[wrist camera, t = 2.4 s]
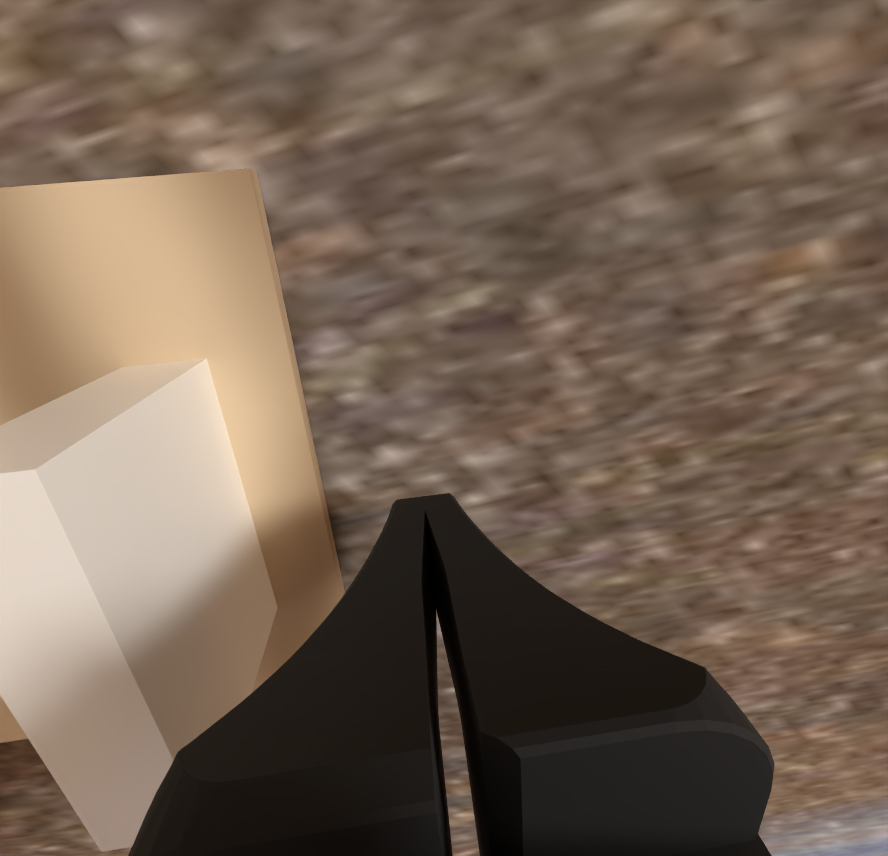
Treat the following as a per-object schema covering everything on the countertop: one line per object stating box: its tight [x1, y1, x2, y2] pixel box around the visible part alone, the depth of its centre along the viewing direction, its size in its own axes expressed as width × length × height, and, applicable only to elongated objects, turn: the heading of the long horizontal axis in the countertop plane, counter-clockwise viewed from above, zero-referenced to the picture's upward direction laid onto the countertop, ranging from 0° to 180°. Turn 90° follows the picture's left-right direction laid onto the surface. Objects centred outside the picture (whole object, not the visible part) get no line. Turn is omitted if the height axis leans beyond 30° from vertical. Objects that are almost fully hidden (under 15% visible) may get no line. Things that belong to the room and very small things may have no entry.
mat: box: [0, 169, 345, 743], centre depth 13 cm, size 14×16×1 cm
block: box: [0, 359, 278, 852], centre depth 10 cm, size 2×8×6 cm, turn 5°
